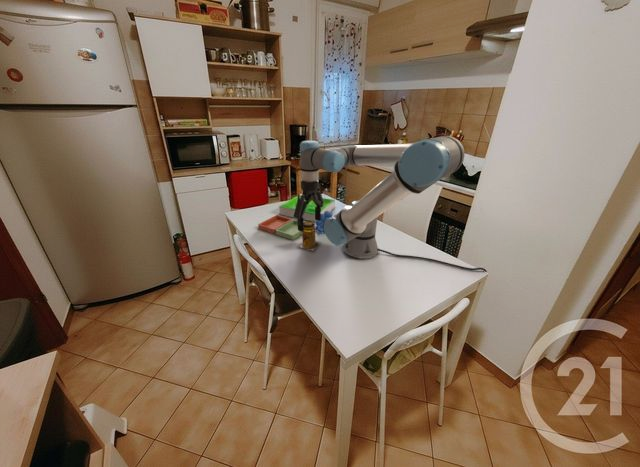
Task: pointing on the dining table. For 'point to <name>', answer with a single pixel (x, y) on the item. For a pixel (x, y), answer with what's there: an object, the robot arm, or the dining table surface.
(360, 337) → the dining table surface
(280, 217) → the terracotta tray
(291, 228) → the green tray
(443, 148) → the robot arm
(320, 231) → the grapes
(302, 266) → the dining table surface
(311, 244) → the condiment
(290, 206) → the tray
